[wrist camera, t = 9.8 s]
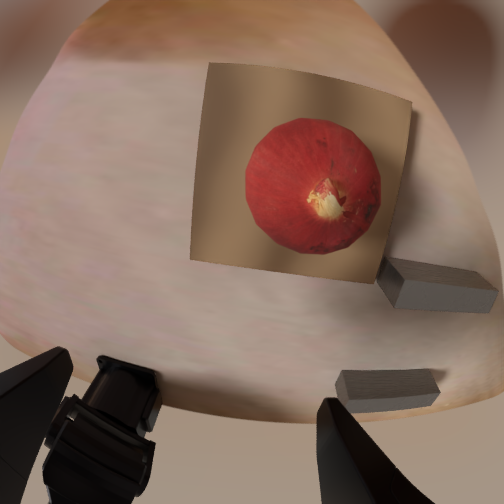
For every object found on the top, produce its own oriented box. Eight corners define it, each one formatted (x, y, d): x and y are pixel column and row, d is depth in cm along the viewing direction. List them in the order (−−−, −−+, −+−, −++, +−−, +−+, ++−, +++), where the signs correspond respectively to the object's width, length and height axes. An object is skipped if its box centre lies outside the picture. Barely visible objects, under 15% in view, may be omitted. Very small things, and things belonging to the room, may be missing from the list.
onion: (368, 153, 14) (449, 167, 7) (327, 240, 16) (368, 319, 9) (274, 108, 14) (279, 71, 6) (235, 202, 16) (204, 258, 8)
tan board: (195, 250, 19) (189, 259, 17) (214, 69, 14) (209, 62, 13) (366, 274, 18) (373, 284, 17) (401, 104, 14) (412, 101, 13)
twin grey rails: (335, 384, 23) (340, 413, 20) (384, 256, 18) (404, 279, 15) (419, 382, 23) (430, 405, 19) (476, 271, 18) (498, 291, 15)
